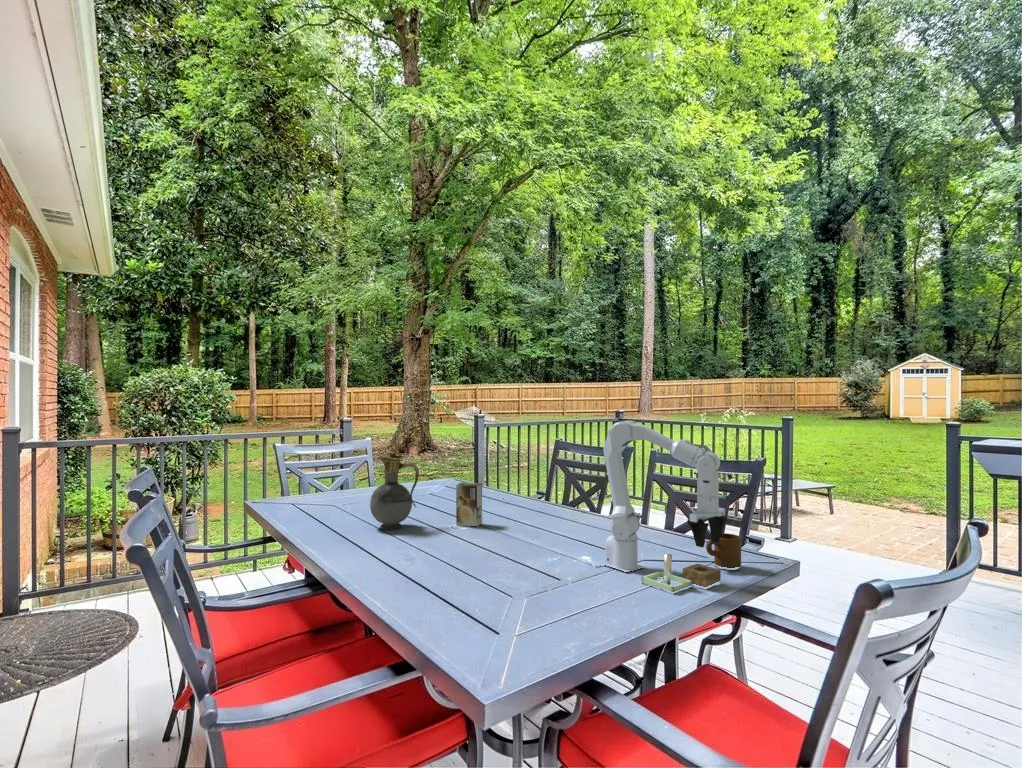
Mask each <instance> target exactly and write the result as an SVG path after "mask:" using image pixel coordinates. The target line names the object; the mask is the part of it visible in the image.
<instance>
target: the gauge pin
mask: <svg viewBox="0 0 1022 768" xmlns="http://www.w3.org/2000/svg"><path fill="white" fill-rule="evenodd" d="M672 560H673V554H672V553H664V556H663V572H664V575H663V583H664V584H667V585H670V584H671V575H672V565H673V564H672V563H673V562H672Z"/></svg>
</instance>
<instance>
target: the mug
mask: <svg viewBox="0 0 1022 768" xmlns="http://www.w3.org/2000/svg"><path fill="white" fill-rule="evenodd" d="M705 544H706V545H705V549H706V552H707V554H709V555H710V557H711V556H713V557H714V563H713V564H714V565H715V564H716V565H718V566H721V567H727V568H735V567H740V566H741V567H742V538H741V536H739V535H737V534H734V533H733V534H732V533H726V532H725V533H724V532H722V534H721V537H720V541H719V543H717V542H712V541H711V538H710V539H708V541H707V542H706V543H705ZM713 546H714V548H712V547H713Z"/></svg>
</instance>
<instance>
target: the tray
mask: <svg viewBox="0 0 1022 768" xmlns="http://www.w3.org/2000/svg"><path fill="white" fill-rule="evenodd" d="M663 575H664V571H662V570H659V571H656V572H653V573H650V574H646V575H643V576H641V578H640V579H641V582H642V583H646V584H648V585H652V586H655V587H658V588H661V589H665V590H668V591H671V592H675V591H678V590H680V589H683V588H686V587H688V586H691V585H692V581H691V580H688V579H684V578H683V577H680V576H677V575H674V574H671V580H674V581H677V582H680V584H677V585H675V586H670V585H667V584H664V583H661V582H659V581H658V580H657V579H659V578H658V577H663ZM660 579H661V578H660ZM660 579H659V580H660Z"/></svg>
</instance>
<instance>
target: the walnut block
mask: <svg viewBox="0 0 1022 768" xmlns="http://www.w3.org/2000/svg"><path fill="white" fill-rule="evenodd" d="M721 570H722V569H719V568H714V567H710V566H708V565H704V564H700V563H695V564H691V565H688V566H686V567H682V578H684V579H688V580H691V581H692V584H696V585H699V586H703V587H707V586H709V585H712V584H714V583H716V582H719V581H722V580H721V575H722V574H721V572H722V571H721Z"/></svg>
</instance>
